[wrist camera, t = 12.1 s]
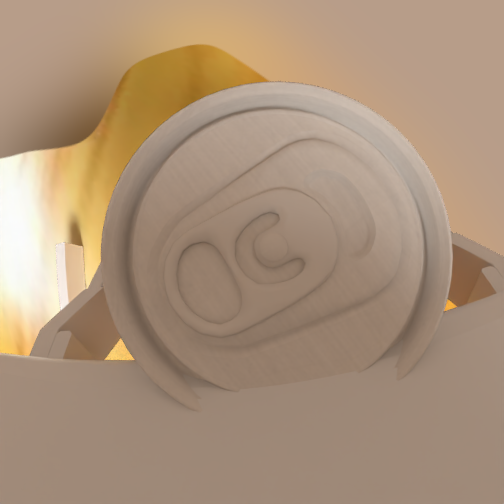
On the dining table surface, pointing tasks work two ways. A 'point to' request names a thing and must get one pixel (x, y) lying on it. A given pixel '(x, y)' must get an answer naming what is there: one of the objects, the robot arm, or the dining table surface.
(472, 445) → the robot arm
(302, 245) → the beer can
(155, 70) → the dining table surface
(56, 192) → the dining table surface
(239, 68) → the dining table surface
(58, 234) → the dining table surface
